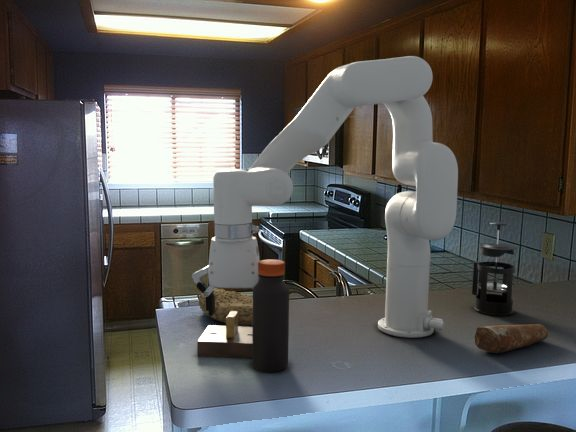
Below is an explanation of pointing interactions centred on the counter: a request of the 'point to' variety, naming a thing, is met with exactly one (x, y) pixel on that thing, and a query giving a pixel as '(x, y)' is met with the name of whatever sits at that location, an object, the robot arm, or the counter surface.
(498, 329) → the bread
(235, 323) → the thumbturn
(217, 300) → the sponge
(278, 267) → the bottle
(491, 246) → the french press
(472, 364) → the counter surface
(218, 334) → the lock plate
